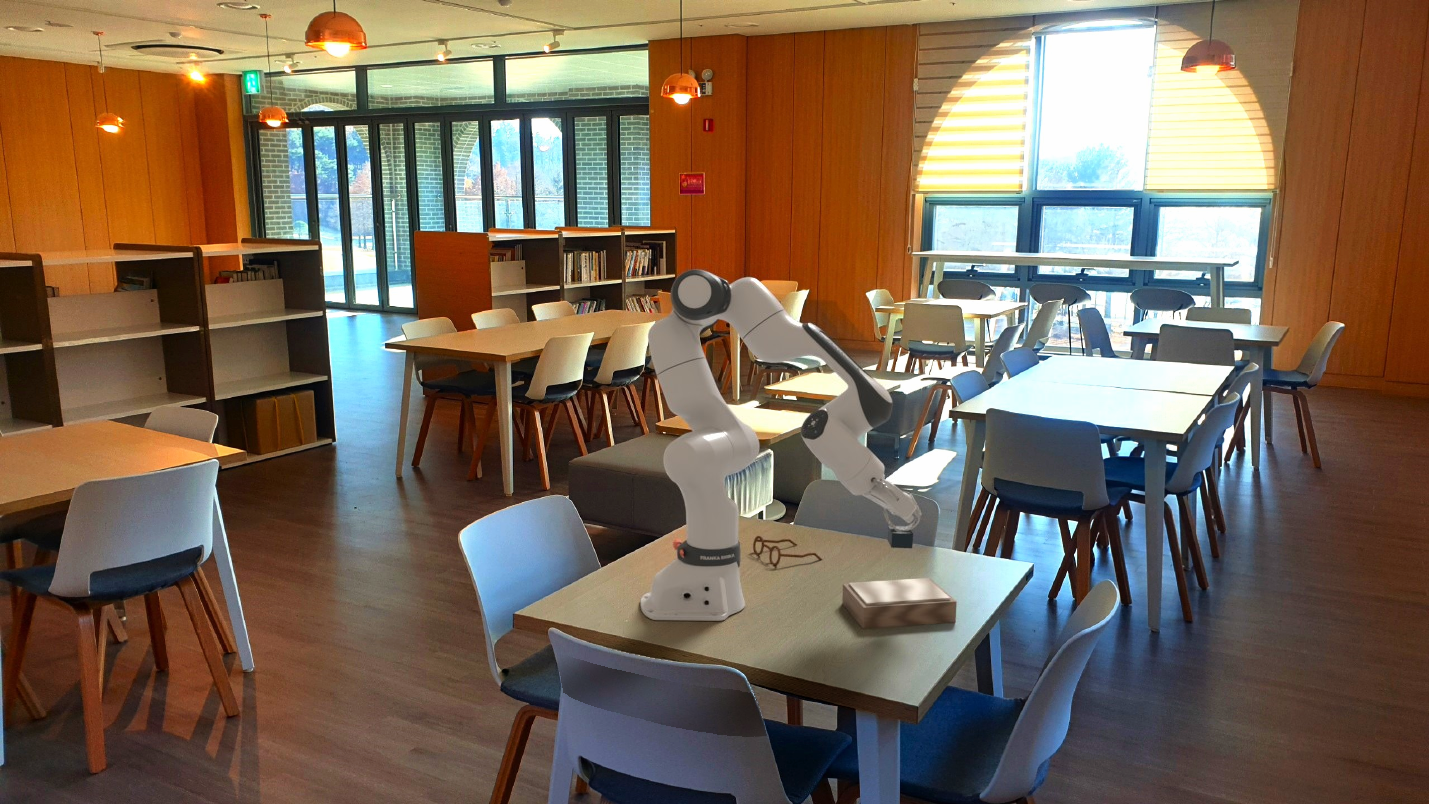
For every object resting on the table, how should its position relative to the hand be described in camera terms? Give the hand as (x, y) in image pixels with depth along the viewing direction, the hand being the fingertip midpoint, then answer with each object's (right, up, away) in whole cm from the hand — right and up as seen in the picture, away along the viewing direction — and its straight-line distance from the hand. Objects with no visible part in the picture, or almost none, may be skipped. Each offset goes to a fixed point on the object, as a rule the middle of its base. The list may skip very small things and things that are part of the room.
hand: (903, 516), depth 212 cm
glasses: (-21, -15, +40) cm, 48 cm away
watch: (-1, -6, +1) cm, 6 cm away
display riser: (-1, -21, +4) cm, 21 cm away
